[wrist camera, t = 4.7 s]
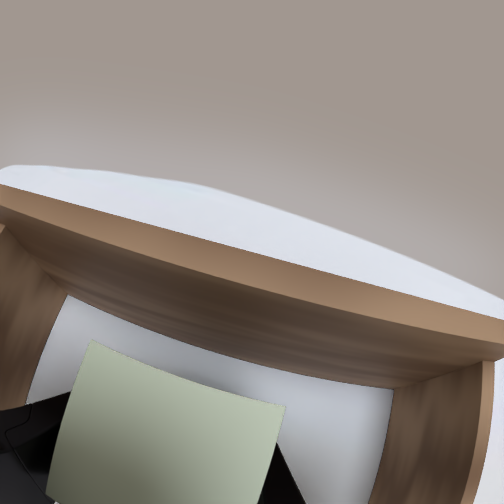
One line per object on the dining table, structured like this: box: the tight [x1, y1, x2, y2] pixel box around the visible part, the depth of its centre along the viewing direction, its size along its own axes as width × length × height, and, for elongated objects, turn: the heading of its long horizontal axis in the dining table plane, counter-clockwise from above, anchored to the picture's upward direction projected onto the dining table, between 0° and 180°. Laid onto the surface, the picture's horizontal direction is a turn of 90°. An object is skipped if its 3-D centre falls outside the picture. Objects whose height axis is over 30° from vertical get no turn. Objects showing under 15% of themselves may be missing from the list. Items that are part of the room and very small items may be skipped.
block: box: [45, 340, 286, 504], centre depth 9 cm, size 5×5×10 cm
